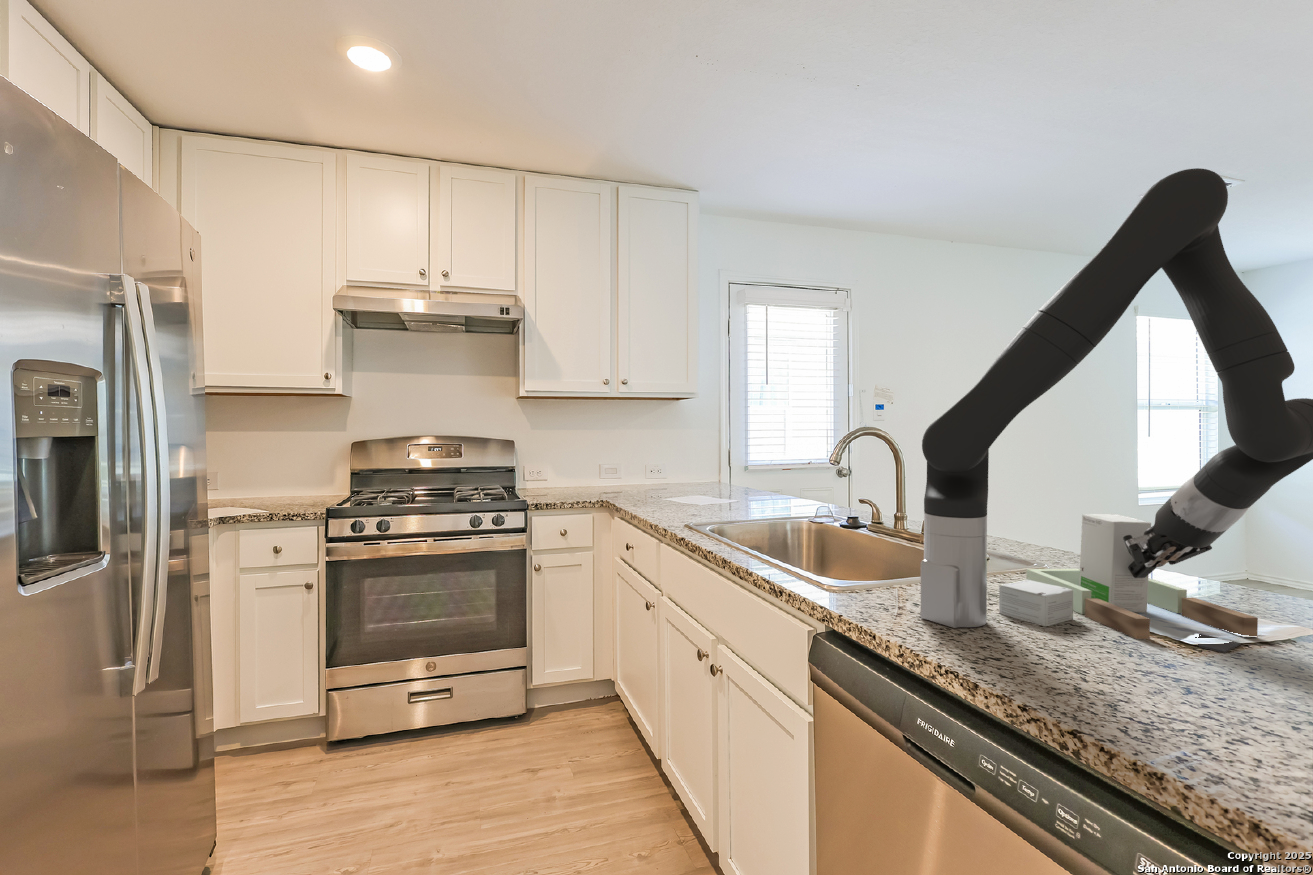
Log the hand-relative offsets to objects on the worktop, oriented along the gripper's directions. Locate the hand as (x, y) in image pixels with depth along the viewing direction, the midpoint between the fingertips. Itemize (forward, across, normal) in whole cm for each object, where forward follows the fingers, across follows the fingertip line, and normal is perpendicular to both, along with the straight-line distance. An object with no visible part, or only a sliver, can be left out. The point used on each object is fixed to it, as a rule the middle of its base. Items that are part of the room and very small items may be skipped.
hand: (1135, 573), depth 100 cm
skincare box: (+8, 0, +2) cm, 8 cm away
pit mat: (-5, 0, +14) cm, 15 cm away
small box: (+5, +17, +6) cm, 19 cm away
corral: (+10, 0, 0) cm, 10 cm away
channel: (0, 0, +9) cm, 9 cm away
